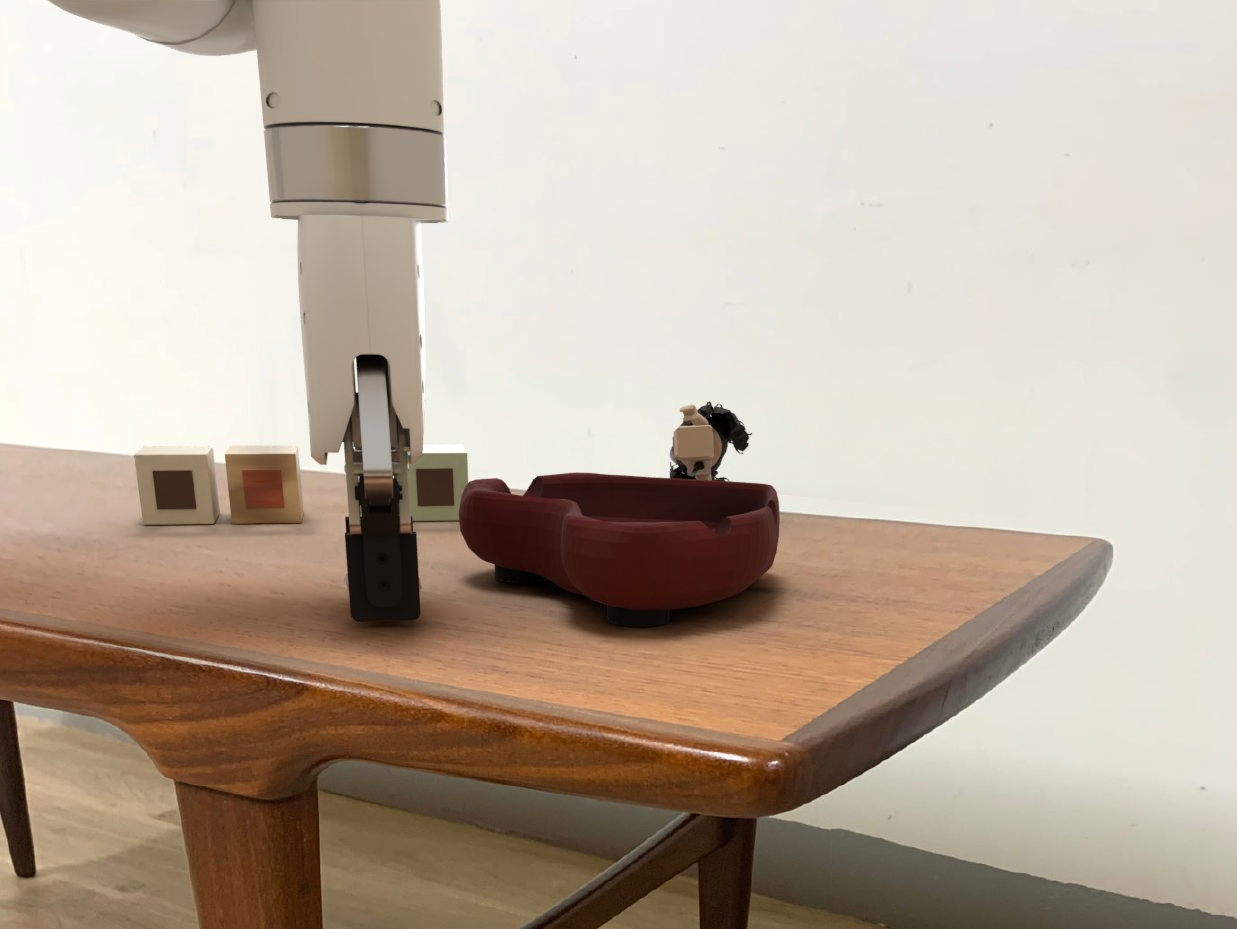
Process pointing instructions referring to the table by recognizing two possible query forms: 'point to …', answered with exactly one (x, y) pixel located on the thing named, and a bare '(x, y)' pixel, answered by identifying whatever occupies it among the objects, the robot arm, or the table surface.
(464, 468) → the block
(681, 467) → the toy figure
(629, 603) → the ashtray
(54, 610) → the table surface
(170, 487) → the block
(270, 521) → the block
